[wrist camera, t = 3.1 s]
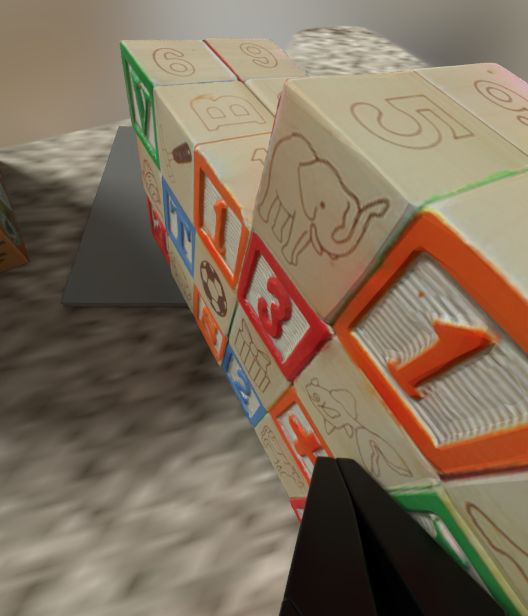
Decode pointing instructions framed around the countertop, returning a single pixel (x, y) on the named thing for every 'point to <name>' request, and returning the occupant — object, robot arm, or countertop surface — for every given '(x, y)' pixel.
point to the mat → (121, 242)
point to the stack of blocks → (357, 271)
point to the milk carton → (9, 235)
